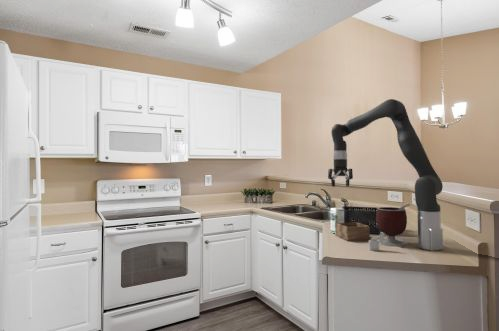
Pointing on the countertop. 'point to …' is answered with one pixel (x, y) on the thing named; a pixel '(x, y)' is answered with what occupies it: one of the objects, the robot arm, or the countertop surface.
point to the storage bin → (362, 217)
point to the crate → (353, 231)
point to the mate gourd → (391, 223)
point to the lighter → (376, 242)
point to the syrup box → (336, 218)
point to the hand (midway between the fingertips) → (340, 186)
